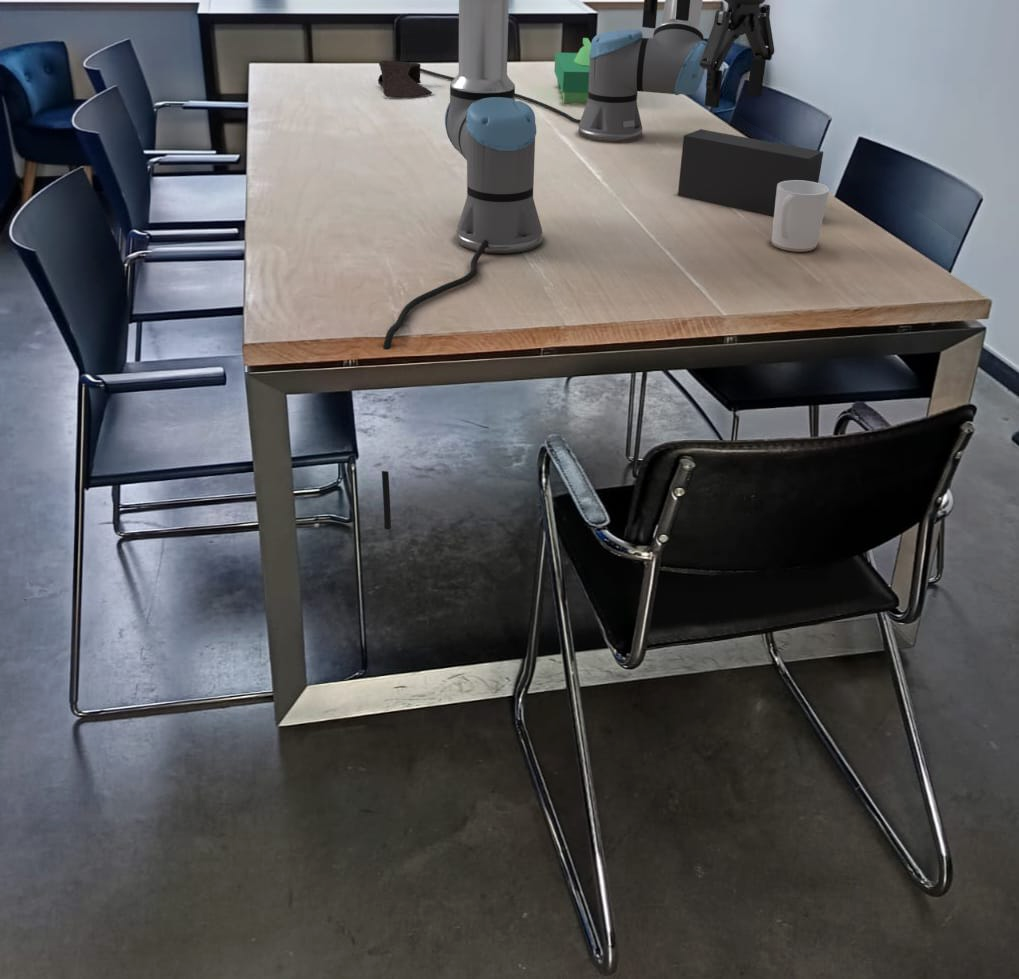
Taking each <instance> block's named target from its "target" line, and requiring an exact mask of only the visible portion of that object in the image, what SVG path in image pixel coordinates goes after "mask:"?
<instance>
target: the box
mask: <svg viewBox="0 0 1019 979" xmlns="http://www.w3.org/2000/svg"><path fill="white" fill-rule="evenodd" d="M682 138H683V139H682V149H681V158H680V168H679V169H680V170H679V177H678V178H679V179H678V189H677V196H678V197H685V198H688V199H693V200H698V201H702V202H705V203H711V204H715V205H720V206H725V207H729V208H734V209H738V210H743V211H748V212H752V213H756V214H761V215H765V216H771V217H774V211H775V201H776V191H777V185H778V183H780V182H783V181H789V180H803V181H811V182H816V183H819V180H820V176H821V169H822V163H823V157H824V151H822V150H816V149H812V148H805V147H802V146H801V147H800V146H795V145H790V144H784V143H779V142H772V141H767V140H761V139H756V138H751V137H745V136H740V135H735V134H729V133H724V132H718V131H712V130H707V129H703V128H700V129H697V130H694V131H692V132H689V133H686V134H684V135H683V137H682Z"/></svg>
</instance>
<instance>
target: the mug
mask: <svg viewBox="0 0 1019 979" xmlns="http://www.w3.org/2000/svg"><path fill="white" fill-rule="evenodd" d="M829 192H830V188H829V187H828V186H827V185H825V184H823V183H819V182H818V183H816V182H811V181H803V180H789V181H783V182H780V183H778V185H777V191H776V201H775V211H774V216H773V220H772V221H773V223H772V230H771V231H772V232H771V241H770V242H771V244H772V245H773V246H774V247H775V248H778V249H779V250H783V251H788V252H796V253H797V252H798V253H799V252H800V253H802V252H811V251H813V250H815V249H816V248H817V246H818V242H819V237H820V233H821V229H822V224H823V220H824V215H825V212H826V206H827V202H828V197H829Z"/></svg>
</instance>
